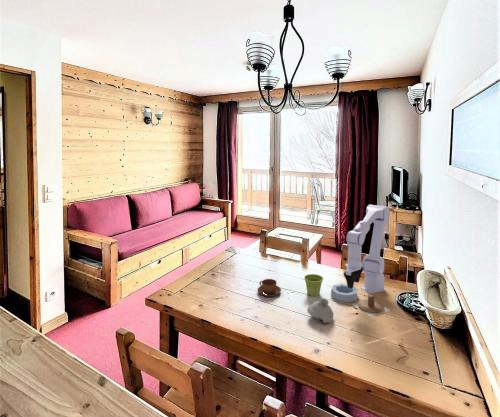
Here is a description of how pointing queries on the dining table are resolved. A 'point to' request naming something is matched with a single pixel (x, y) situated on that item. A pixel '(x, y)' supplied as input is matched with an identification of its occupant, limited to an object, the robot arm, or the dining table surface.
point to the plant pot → (313, 284)
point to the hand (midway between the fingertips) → (353, 284)
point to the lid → (371, 305)
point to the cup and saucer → (269, 288)
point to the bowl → (344, 293)
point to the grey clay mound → (321, 311)
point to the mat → (371, 313)
